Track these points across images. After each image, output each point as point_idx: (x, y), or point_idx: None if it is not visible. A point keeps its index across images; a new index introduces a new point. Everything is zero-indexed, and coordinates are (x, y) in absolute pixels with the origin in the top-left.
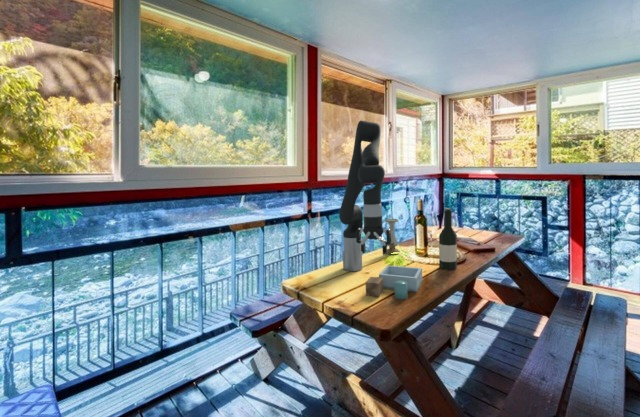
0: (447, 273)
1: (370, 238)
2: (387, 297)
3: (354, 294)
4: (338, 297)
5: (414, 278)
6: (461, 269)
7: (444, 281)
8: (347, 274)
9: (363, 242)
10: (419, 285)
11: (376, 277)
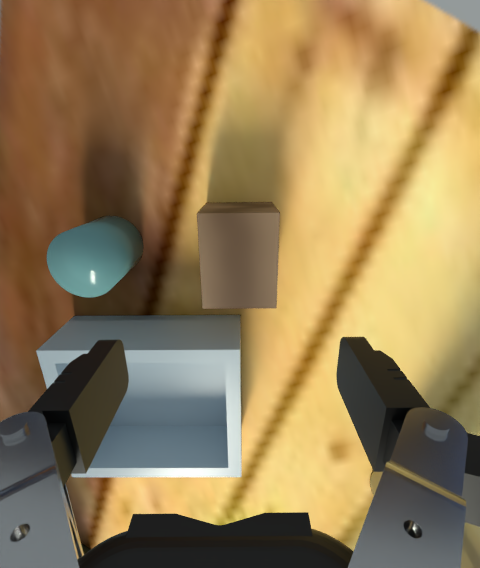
0: None
1: (278, 539)
2: (169, 217)
3: (331, 201)
4: (404, 133)
5: (48, 349)
6: None
7: None
8: None
9: (410, 440)
10: None
11: (240, 306)
